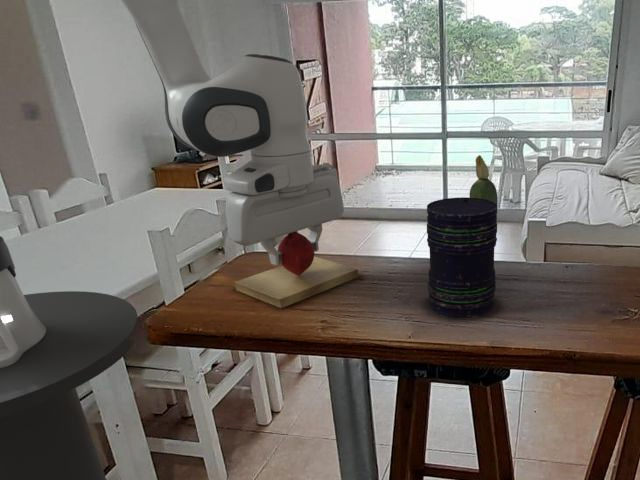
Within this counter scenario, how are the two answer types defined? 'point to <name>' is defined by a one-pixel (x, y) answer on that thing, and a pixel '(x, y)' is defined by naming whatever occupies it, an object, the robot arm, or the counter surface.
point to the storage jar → (462, 257)
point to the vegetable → (483, 183)
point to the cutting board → (295, 282)
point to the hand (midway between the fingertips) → (295, 257)
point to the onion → (296, 253)
